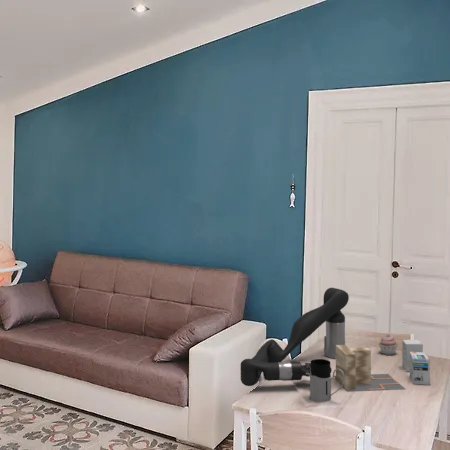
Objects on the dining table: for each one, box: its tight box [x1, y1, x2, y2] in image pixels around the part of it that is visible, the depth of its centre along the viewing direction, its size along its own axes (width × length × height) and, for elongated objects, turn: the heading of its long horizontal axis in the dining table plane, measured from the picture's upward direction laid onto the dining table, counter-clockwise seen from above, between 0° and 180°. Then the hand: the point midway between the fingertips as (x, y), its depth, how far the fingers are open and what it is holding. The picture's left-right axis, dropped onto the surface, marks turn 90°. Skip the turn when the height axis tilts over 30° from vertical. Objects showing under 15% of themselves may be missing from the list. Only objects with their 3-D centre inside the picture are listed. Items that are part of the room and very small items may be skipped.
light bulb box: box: [409, 351, 431, 386], centre depth 224 cm, size 11×7×11 cm, turn 168°
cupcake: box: [378, 333, 399, 356], centre depth 263 cm, size 9×9×10 cm
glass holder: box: [309, 358, 344, 403], centre depth 201 cm, size 9×14×15 cm, turn 51°
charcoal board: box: [334, 373, 406, 393], centre depth 219 cm, size 24×19×1 cm
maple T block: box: [335, 344, 372, 390], centre depth 218 cm, size 12×14×14 cm
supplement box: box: [401, 339, 424, 373], centre depth 238 cm, size 7×7×13 cm
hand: (330, 369), depth 218 cm, fingers closed
